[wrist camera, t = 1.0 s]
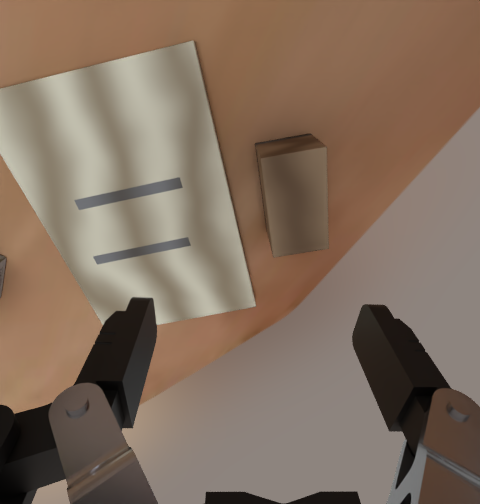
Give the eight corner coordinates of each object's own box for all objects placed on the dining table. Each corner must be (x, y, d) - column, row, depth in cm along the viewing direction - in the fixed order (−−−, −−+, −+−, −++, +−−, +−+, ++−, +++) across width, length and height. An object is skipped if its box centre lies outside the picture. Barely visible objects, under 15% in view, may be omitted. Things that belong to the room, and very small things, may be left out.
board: (194, 41, 24) (193, 40, 23) (254, 298, 37) (256, 306, 36) (-21, 95, 25) (-34, 97, 24) (112, 324, 39) (108, 334, 37)
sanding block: (309, 133, 28) (326, 146, 23) (313, 222, 33) (328, 248, 28) (254, 143, 28) (260, 158, 24) (266, 230, 33) (273, 257, 28)
